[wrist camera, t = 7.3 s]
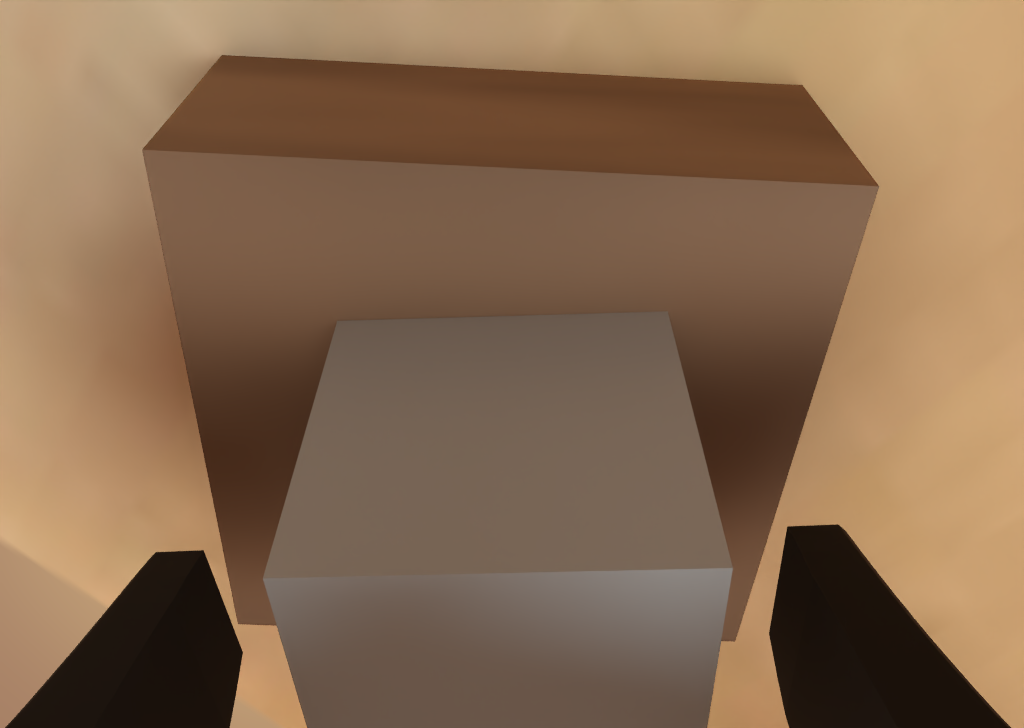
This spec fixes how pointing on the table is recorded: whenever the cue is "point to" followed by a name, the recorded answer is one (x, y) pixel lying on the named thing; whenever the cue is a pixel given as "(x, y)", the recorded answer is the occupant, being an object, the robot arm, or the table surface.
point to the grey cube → (502, 529)
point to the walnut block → (499, 250)
